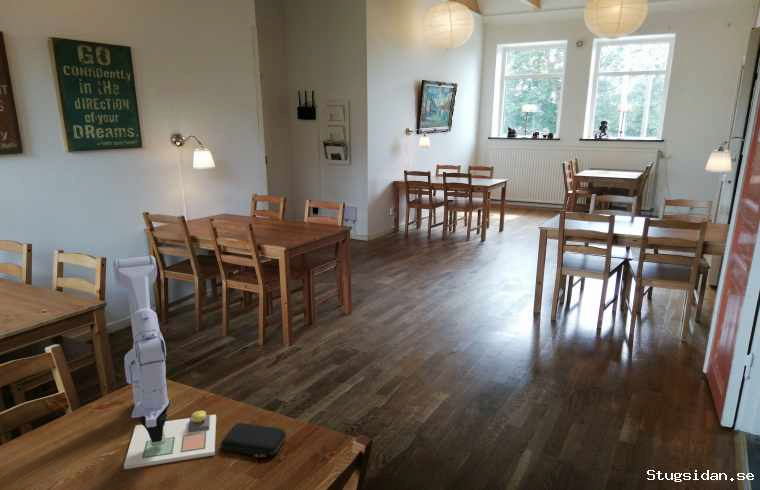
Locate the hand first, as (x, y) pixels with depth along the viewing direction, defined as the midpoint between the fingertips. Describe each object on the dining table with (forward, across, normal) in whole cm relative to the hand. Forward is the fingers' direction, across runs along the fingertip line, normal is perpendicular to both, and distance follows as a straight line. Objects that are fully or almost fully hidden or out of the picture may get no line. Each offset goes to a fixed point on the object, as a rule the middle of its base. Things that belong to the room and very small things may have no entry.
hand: (158, 435), depth 120 cm
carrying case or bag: (+5, +3, +22) cm, 23 cm away
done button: (+2, -7, +9) cm, 12 cm away
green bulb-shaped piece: (+2, 0, 0) cm, 2 cm away
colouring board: (+4, -3, +3) cm, 6 cm away
